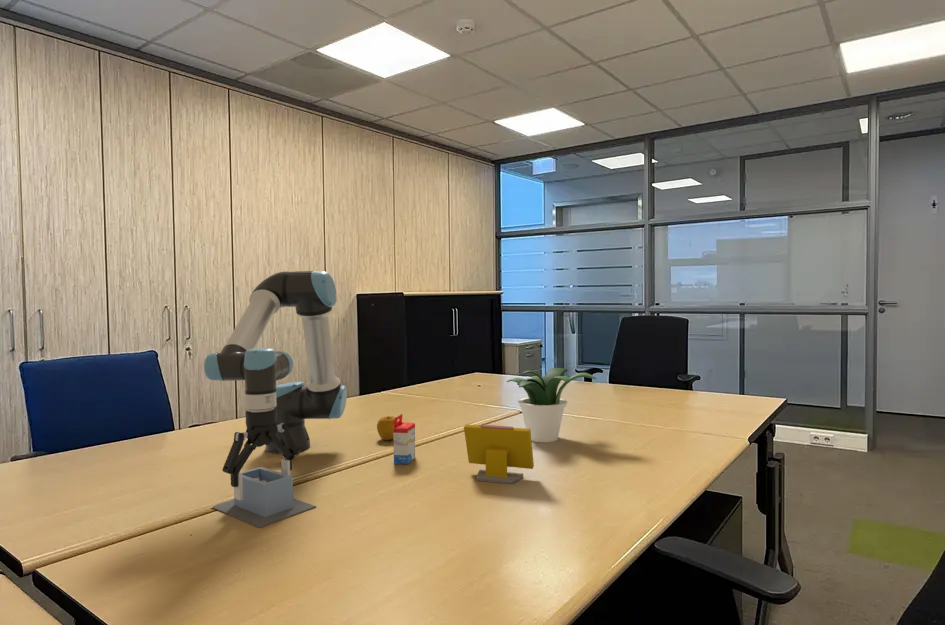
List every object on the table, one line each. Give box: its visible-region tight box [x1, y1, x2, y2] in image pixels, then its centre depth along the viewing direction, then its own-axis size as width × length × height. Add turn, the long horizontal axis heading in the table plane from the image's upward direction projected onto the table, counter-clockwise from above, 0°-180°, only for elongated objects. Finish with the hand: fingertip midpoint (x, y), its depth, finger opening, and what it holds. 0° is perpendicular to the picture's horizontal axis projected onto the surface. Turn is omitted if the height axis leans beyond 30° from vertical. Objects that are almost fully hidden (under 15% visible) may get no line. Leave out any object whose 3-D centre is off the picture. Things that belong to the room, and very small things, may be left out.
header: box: [212, 478, 317, 529], centre depth 146 cm, size 22×16×7 cm
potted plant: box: [506, 367, 597, 443], centre depth 212 cm, size 32×35×26 cm
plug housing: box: [233, 466, 294, 517], centre depth 146 cm, size 14×8×8 cm, turn 53°
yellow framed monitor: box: [463, 423, 535, 485], centre depth 167 cm, size 20×8×16 cm, turn 71°
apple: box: [376, 415, 399, 441], centre depth 213 cm, size 8×8×9 cm
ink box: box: [392, 413, 416, 465], centre depth 186 cm, size 8×5×15 cm, turn 168°
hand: (263, 491), depth 146 cm, fingers open, 13 cm apart
